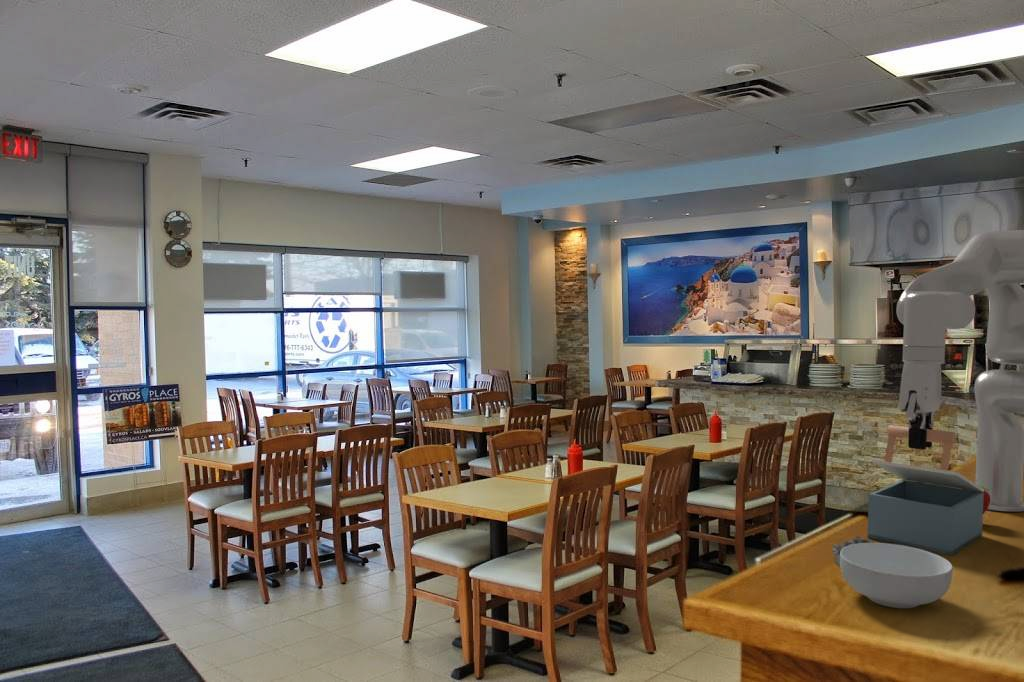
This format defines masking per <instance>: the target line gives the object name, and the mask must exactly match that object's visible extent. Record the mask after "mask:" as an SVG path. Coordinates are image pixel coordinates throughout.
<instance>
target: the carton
mask: <svg viewBox="0 0 1024 682" xmlns="http://www.w3.org/2000/svg"><path fill="white" fill-rule="evenodd" d="M983 496H984V492H977V491H971V490H965V489H960V488H953V487H947V486H941V485H934V484H928V483H922V482H915V481H909V480H903V479H901V480H899V481H896V482H895V483H892V484H889V485H888V486H885V487H883V488H879V489H878V490H875V491H872V492H870V493H869V494H868V507H867V508H868V513H867V516H868V517H867V539H872V540H876V541H880V542H881V541H882V542H885V543H889V544H896V545H902V546H908V547H912V548H917V549H921V550H924V551H927V552H932V553H936V554H937V553H938V554H942V555H946V556H947V555H948V556H953V555H955V554H957V553H959V551H962V550H963V549H964V548H966V547H967V546H970V545H971V544H972V543H974V542H975V541H977V540H978V539H980V538H981V537H982V536H983V521H984V519H983V518H984V514H983Z"/></svg>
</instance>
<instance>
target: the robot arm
mask: <svg viewBox="0 0 1024 682" xmlns="http://www.w3.org/2000/svg"><path fill="white" fill-rule="evenodd" d="M1020 284H1024V229H1015V230H991V231H990V230H989V231H983V232H980V233H978V234H976V235H974V236H972V238H970V239H969V241H968V242H967V244H965V246H964V247H963V249H962V250H961V251H960V252H959V253H958V255H957V256H956V257H955V258H954V259H953V261H952V262H949V263H947V264H944V265H942V266H938V267H937V268H934V269H932V270H930V271H927V272H925V273H923V274H921V275H919V276H917V277H916V278H914V279H913V280H912V281H911V282H910V283H909V284H908V285H907V287H906V288H905V289H904V290H903V292H902V293H901V294H900V297H899V298H898V301H897V303H896V308H895V309H896V316H897V319H898V321H899V323H901V324H902V325H903V336H902V337H903V340H902V362H903V367H902V372H901V380H900V389H899V403H898V409H899V411H900V412H902V413H906V415H905V417H906V419H907V420H908V425H907V427H909V439H907V440H908V445H907V446H908V448H909V449H916V450H922V451H923V450H926V449H927V448H929V449H930V448H932V447H933V442H928V441H926V438H927V429H930V430H934V428H933V426H934V416H935V413H936V411H938V410H939V409H940V407H941V401H942V367H941V366H942V365H943V364H946V362H945V361H946V337H947V336H946V335H947V334H946V333H947V330H959V329H964V328H965V327H967V326H969V325H970V324H971V323H972V322H973V320H974V318H975V315H976V305H975V302H974V300H973V299H972V298H971V296H973V295H976V294H979V293H980V292H983V291H984V290H985V293H986V295H987V298H988V303H989V312H988V321H987V332H986V345H985V349H986V356H987V358H988V359H989V360H990V361H991V362H994V363H997V364H1003V365H1011V366H1013V365H1015V366H1024V288H1023V287H1022V286H1021V285H1020ZM973 389H974V397H975V404H976V412H977V430H976V431H977V432H976V433H977V435H976V460H975V461H976V462H975V465H976V466H975V481H976V480H977V479H978V480H977V481H976V482H975V481H974V482H975V484H977V485H978V486H983V488H985V489H988V490H984V491H986V492H987V493H988V494H989V495H990V503H989V506H988V509H987V510H990V511H996V512H997V511H999V512H1008V513H1011V512H1012V513H1014V512H1015V513H1020V512H1024V499H1023V483H1024V482H1023V481H1024V480H1023V479H1024V427H1023V425H1022V423H1021V422H1020V420H1019V418H1018V417H1017V416H1016V415H1015V414H1024V371H1023V370H1012V369H1011V370H1010V369H1009V370H1008V369H990V370H985V371H983V372H981V373H980V374H978V375H977V377H976V379H975V382H974V385H973Z"/></svg>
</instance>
